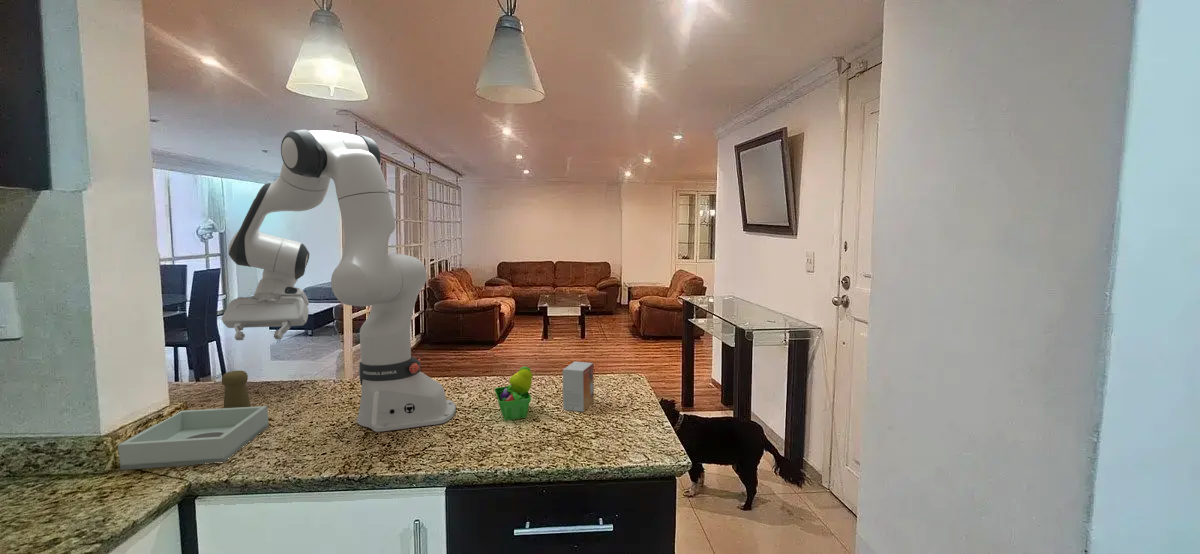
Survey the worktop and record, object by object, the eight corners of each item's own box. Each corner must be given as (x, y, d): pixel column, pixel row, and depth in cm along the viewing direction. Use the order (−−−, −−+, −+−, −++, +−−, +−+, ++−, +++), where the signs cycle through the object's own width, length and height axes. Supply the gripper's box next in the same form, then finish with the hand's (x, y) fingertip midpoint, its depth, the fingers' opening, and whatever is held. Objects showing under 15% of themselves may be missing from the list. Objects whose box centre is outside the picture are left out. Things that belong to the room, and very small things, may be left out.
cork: (237, 421, 122) (233, 376, 121) (216, 419, 123) (212, 374, 122) (258, 411, 128) (255, 368, 127) (238, 410, 129) (234, 367, 128)
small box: (583, 412, 126) (583, 371, 125) (562, 410, 128) (562, 369, 127) (594, 402, 134) (594, 362, 133) (574, 399, 135) (574, 360, 134)
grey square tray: (268, 427, 118) (267, 406, 118) (224, 463, 100) (222, 438, 100) (182, 432, 115) (180, 410, 115) (120, 470, 98) (117, 444, 97)
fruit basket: (494, 407, 130) (493, 363, 129) (528, 403, 133) (528, 360, 132) (499, 423, 120) (498, 376, 118) (537, 418, 122) (536, 372, 121)
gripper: (227, 290, 140) (209, 333, 132) (307, 289, 143) (294, 330, 135) (237, 304, 145) (220, 346, 137) (315, 302, 148) (303, 343, 140)
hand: (258, 338), depth 136 cm, fingers open, 8 cm apart
